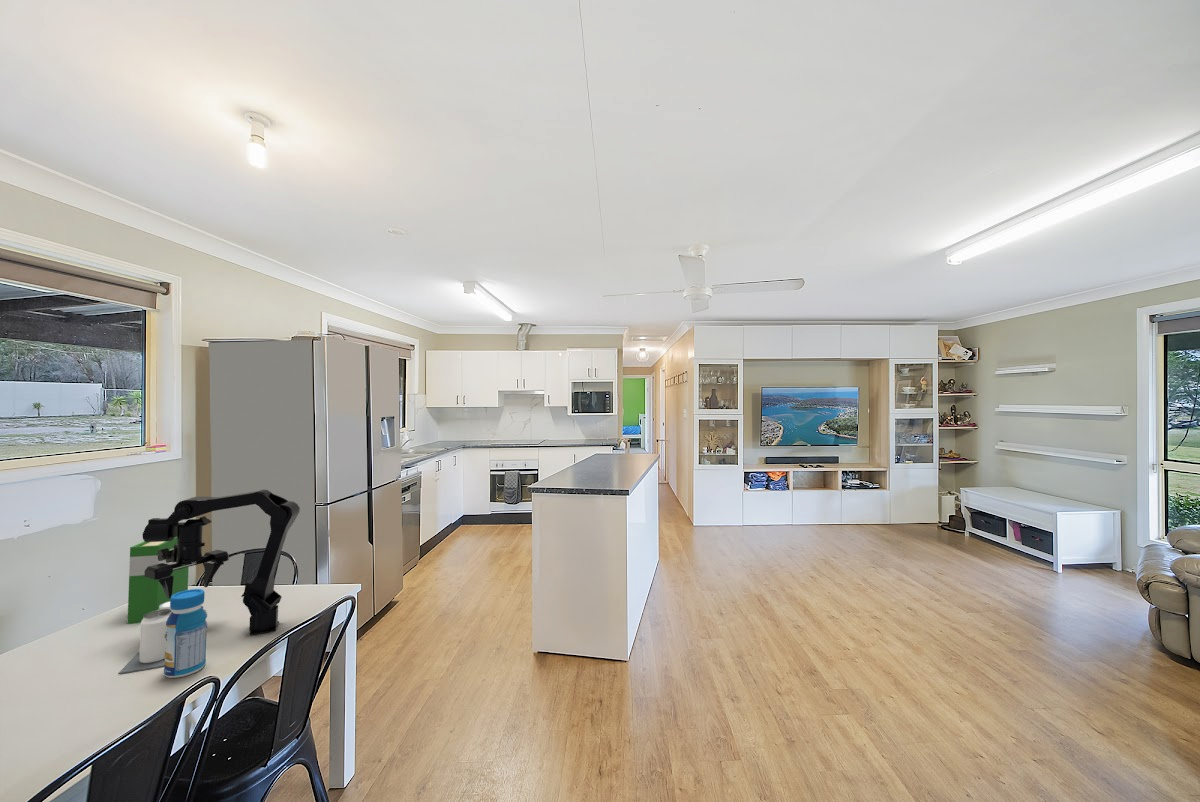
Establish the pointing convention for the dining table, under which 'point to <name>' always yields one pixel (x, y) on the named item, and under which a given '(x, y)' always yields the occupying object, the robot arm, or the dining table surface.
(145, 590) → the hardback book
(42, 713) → the dining table surface
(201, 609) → the beverage bottle
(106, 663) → the dining table surface
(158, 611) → the can
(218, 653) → the dining table surface
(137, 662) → the slate mat
